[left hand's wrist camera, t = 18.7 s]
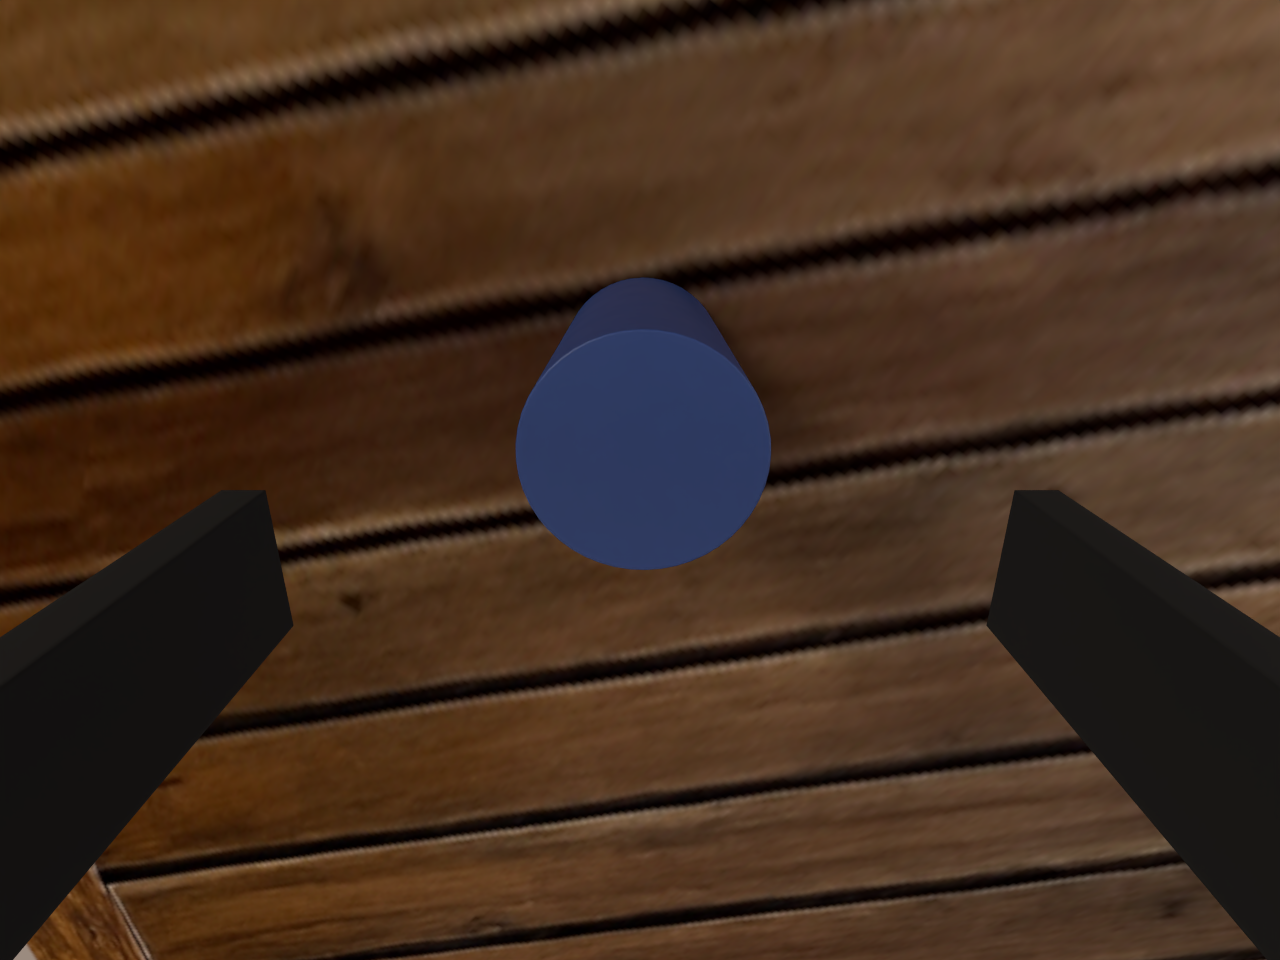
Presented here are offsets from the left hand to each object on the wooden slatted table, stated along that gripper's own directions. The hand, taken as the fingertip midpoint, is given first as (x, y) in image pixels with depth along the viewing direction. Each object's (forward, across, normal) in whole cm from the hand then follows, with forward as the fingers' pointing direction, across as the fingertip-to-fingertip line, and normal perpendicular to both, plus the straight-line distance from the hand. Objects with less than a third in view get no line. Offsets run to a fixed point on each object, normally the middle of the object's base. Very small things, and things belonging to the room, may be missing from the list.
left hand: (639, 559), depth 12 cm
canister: (+16, 0, 0) cm, 16 cm away
